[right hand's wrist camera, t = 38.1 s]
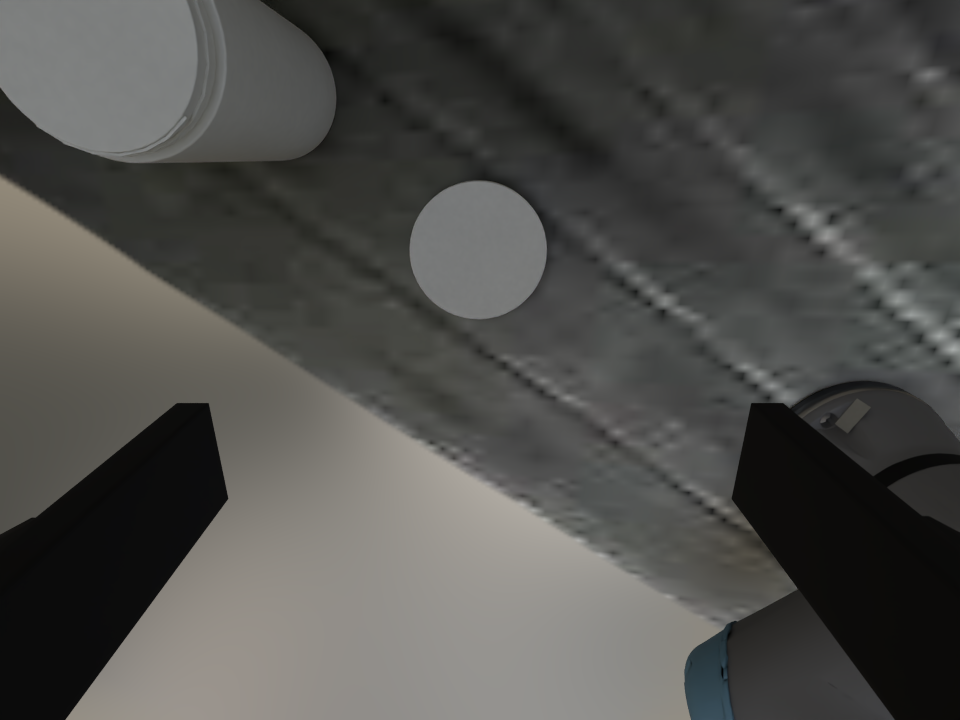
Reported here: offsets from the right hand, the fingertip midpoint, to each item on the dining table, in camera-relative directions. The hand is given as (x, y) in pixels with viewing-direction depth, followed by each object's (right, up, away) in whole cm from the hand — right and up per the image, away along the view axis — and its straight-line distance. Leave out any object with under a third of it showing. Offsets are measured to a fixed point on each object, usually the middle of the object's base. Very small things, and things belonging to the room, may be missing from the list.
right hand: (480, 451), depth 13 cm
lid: (0, +10, +26) cm, 28 cm away
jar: (-14, +21, +23) cm, 35 cm away
